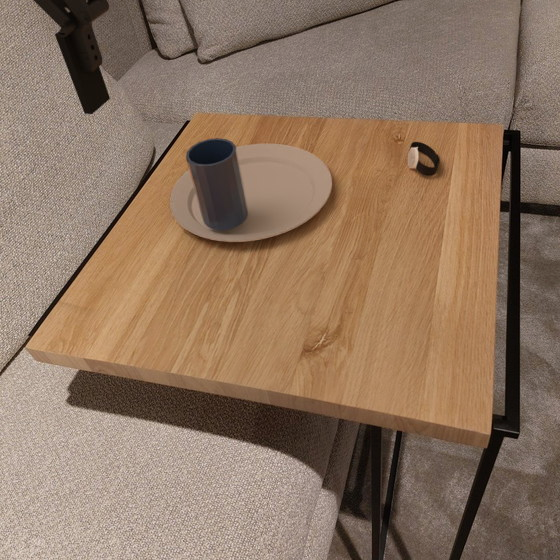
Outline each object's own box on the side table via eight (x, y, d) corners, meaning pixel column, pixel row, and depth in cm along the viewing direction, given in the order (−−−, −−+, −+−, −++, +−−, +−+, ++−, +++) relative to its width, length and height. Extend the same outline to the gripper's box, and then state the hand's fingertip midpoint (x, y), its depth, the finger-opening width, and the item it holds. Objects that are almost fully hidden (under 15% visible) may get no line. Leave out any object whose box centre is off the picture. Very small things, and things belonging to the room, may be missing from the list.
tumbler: (195, 226, 86) (177, 162, 78) (215, 199, 90) (200, 136, 83) (236, 233, 84) (222, 168, 76) (255, 205, 88) (243, 140, 80)
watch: (402, 155, 96) (402, 136, 94) (430, 150, 96) (431, 131, 94) (415, 181, 91) (416, 161, 88) (445, 176, 91) (447, 156, 88)
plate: (214, 146, 105) (212, 137, 104) (352, 161, 97) (352, 151, 95) (142, 236, 89) (139, 226, 88) (300, 264, 80) (299, 253, 79)
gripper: (-282, -186, 39) (-100, 109, 53) (10, -231, 30) (130, 135, 45) (-182, -203, 43) (-41, 72, 58) (93, -246, 35) (177, 89, 49)
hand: (34, 100), depth 51 cm, fingers open, 13 cm apart
